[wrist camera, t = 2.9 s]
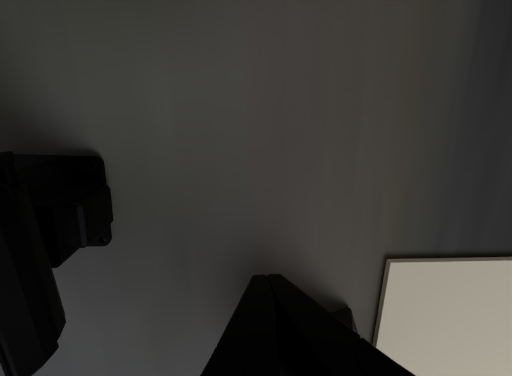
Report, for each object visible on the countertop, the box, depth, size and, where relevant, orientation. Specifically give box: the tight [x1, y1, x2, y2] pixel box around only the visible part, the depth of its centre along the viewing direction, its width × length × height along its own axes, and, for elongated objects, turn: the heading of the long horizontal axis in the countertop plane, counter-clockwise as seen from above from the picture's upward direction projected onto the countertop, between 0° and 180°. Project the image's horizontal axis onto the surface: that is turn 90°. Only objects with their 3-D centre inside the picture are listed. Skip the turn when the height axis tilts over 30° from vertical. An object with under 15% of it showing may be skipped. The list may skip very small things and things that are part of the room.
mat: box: [373, 257, 512, 376], centre depth 27 cm, size 16×18×1 cm
